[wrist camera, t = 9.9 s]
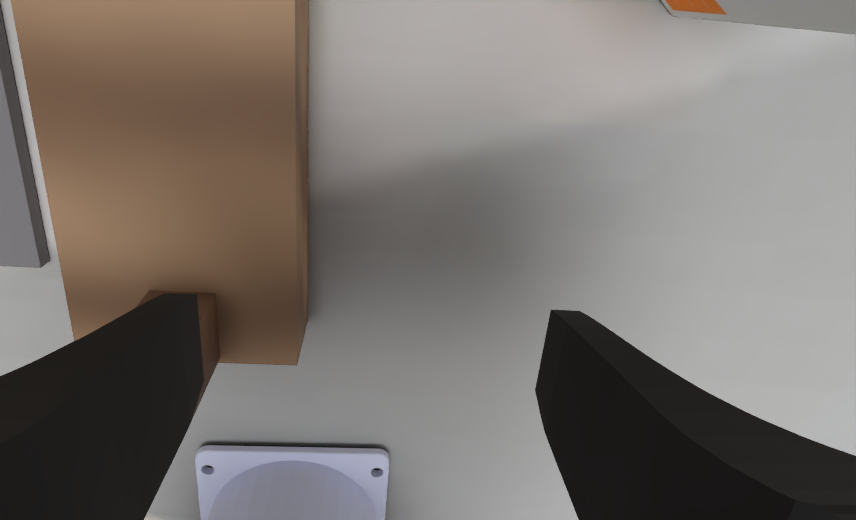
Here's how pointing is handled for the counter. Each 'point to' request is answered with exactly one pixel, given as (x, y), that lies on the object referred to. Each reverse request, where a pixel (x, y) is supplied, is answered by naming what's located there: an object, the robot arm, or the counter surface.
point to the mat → (16, 179)
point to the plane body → (177, 162)
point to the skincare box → (773, 13)
